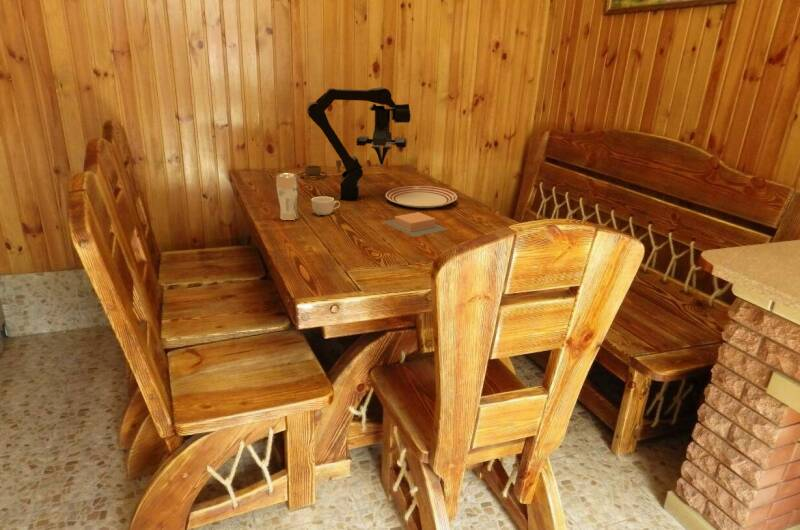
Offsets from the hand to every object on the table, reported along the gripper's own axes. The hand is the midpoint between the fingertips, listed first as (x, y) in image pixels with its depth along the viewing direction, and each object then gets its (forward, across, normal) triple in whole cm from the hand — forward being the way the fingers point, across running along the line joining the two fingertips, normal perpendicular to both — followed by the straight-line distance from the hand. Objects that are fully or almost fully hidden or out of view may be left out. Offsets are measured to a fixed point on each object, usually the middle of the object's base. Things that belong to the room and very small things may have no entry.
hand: (381, 164), depth 207 cm
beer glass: (+13, -27, -34) cm, 45 cm away
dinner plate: (+14, +16, -4) cm, 21 cm away
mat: (+13, +16, -35) cm, 41 cm away
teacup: (+13, -16, -26) cm, 33 cm away
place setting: (+14, -32, +33) cm, 48 cm away
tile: (+11, +13, -32) cm, 36 cm away
